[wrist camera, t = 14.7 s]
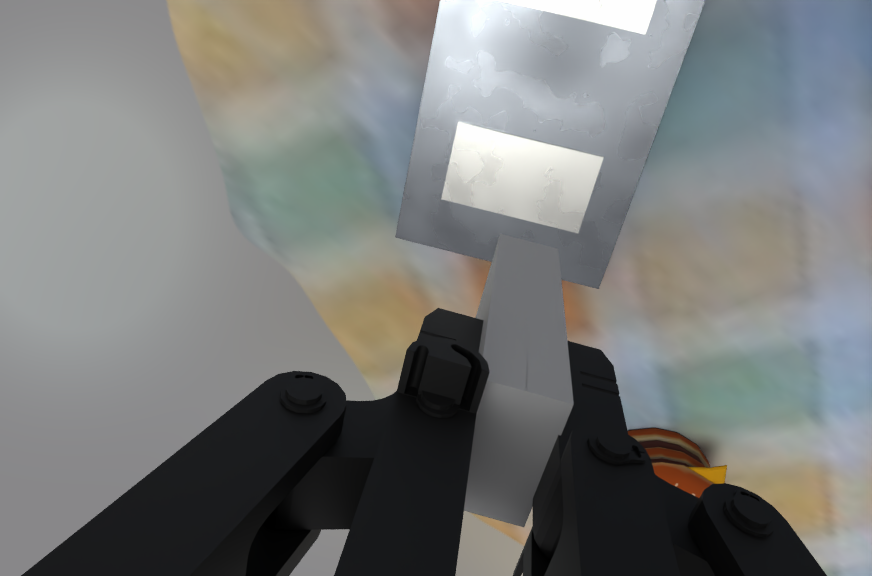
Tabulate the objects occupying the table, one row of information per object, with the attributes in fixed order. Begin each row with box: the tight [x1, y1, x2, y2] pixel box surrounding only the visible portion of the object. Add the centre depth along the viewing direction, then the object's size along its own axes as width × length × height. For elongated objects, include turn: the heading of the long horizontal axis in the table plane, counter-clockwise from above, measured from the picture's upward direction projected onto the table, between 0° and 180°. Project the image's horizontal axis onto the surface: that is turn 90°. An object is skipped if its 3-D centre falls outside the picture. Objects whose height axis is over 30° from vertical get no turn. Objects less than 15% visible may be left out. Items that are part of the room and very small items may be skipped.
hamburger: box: [628, 428, 727, 498], centre depth 46 cm, size 9×10×7 cm
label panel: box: [395, 0, 705, 289], centre depth 32 cm, size 14×30×8 cm, turn 168°
